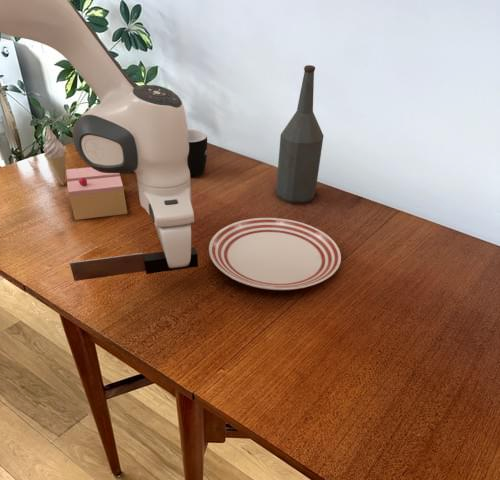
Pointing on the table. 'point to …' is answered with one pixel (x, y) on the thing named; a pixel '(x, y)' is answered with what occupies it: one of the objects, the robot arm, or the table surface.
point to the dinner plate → (274, 253)
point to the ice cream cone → (55, 154)
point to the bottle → (300, 148)
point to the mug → (197, 152)
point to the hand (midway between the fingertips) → (170, 260)
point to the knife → (126, 265)
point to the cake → (95, 193)
